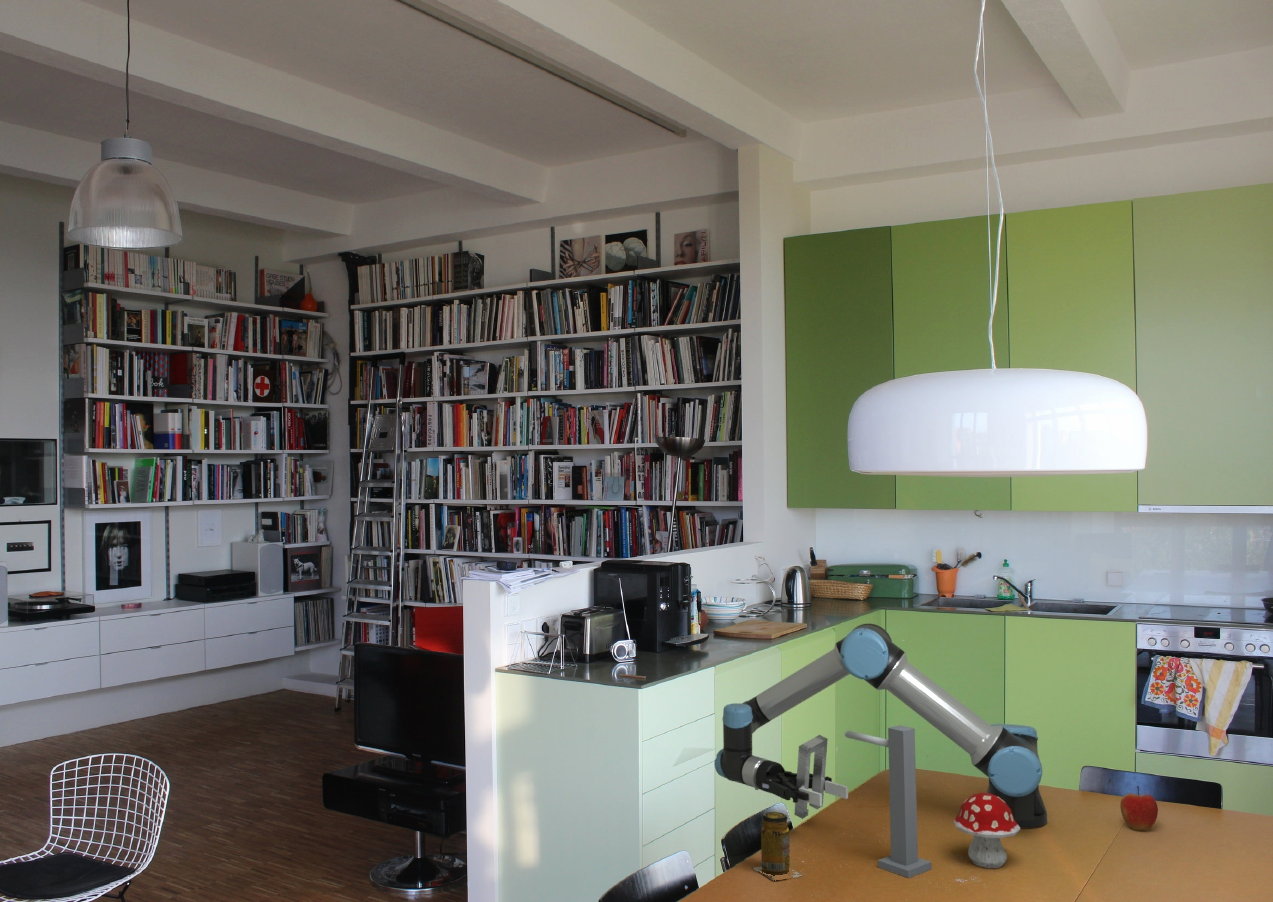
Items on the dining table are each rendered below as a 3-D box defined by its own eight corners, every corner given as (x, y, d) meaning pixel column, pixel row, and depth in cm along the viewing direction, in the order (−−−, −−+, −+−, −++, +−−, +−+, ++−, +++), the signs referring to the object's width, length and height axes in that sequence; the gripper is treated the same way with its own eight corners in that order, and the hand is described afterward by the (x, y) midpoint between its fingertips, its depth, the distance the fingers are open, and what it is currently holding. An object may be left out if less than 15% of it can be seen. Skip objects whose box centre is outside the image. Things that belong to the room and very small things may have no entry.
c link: (814, 801, 240) (819, 734, 236) (822, 805, 239) (827, 738, 235) (794, 814, 235) (798, 746, 231) (802, 818, 233) (807, 750, 229)
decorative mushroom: (941, 861, 217) (939, 792, 218) (978, 847, 226) (976, 780, 226) (998, 880, 206) (995, 807, 207) (1034, 864, 215) (1032, 794, 215)
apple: (1122, 832, 234) (1120, 789, 235) (1119, 822, 242) (1118, 780, 242) (1160, 836, 231) (1159, 793, 232) (1156, 825, 239) (1155, 784, 239)
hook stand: (931, 868, 213) (928, 728, 214) (908, 877, 208) (905, 734, 209) (859, 844, 229) (856, 713, 230) (836, 852, 224) (833, 718, 225)
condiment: (780, 863, 217) (779, 808, 218) (802, 876, 210) (801, 819, 210) (752, 869, 214) (751, 813, 215) (774, 882, 207) (773, 824, 207)
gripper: (794, 782, 254) (863, 803, 236) (734, 797, 241) (803, 821, 223) (793, 752, 254) (863, 772, 236) (733, 766, 241) (802, 788, 223)
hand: (834, 796), depth 230 cm, fingers closed on c link, 8 cm apart
